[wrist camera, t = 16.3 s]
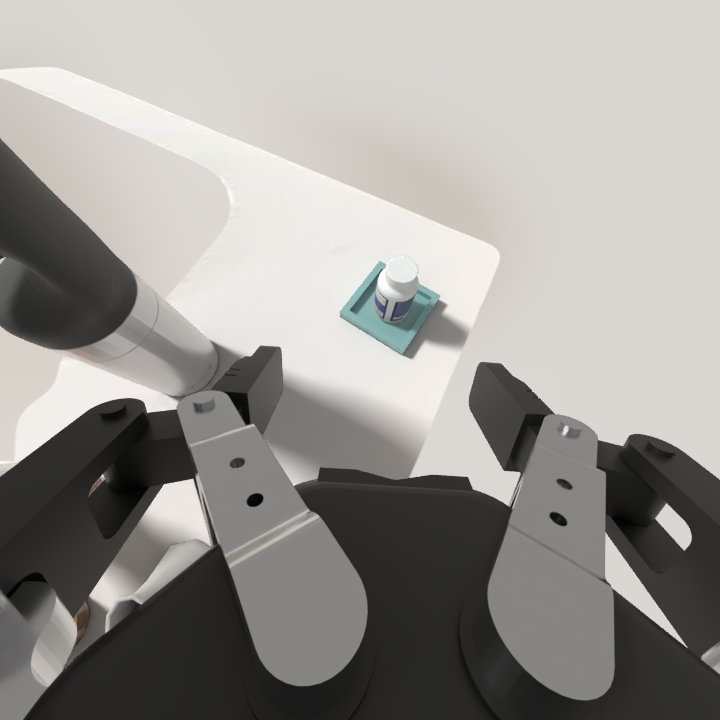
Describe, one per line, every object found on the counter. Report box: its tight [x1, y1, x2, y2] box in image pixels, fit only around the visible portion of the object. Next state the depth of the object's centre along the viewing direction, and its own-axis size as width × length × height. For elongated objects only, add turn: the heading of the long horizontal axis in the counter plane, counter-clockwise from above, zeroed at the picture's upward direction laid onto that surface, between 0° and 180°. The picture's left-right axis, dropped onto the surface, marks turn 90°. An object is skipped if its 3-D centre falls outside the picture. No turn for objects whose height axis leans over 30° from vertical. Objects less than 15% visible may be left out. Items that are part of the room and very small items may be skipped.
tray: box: [340, 261, 440, 355], centre depth 45 cm, size 11×11×2 cm
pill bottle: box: [374, 256, 419, 323], centre depth 41 cm, size 5×5×10 cm
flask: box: [105, 539, 211, 633], centre depth 29 cm, size 7×7×10 cm
